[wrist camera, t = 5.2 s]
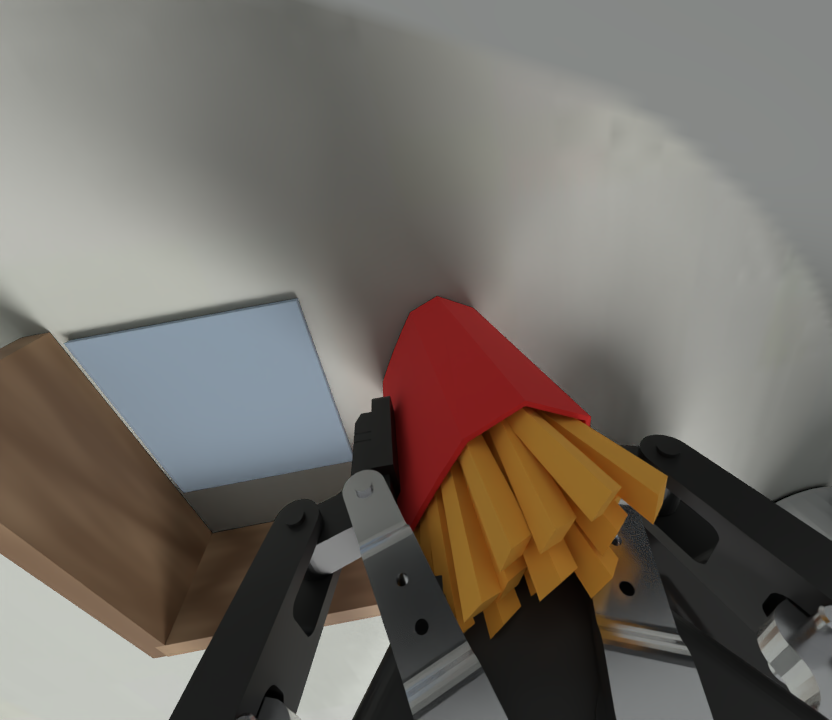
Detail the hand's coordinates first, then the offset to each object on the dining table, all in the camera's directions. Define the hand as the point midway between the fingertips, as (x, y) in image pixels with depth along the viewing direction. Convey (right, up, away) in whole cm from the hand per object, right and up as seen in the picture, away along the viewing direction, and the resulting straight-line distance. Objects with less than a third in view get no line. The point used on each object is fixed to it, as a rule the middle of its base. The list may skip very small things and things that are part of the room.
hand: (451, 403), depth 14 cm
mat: (-11, -1, +4) cm, 11 cm away
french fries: (-1, +2, +3) cm, 4 cm away
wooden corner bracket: (-7, -2, +5) cm, 9 cm away
